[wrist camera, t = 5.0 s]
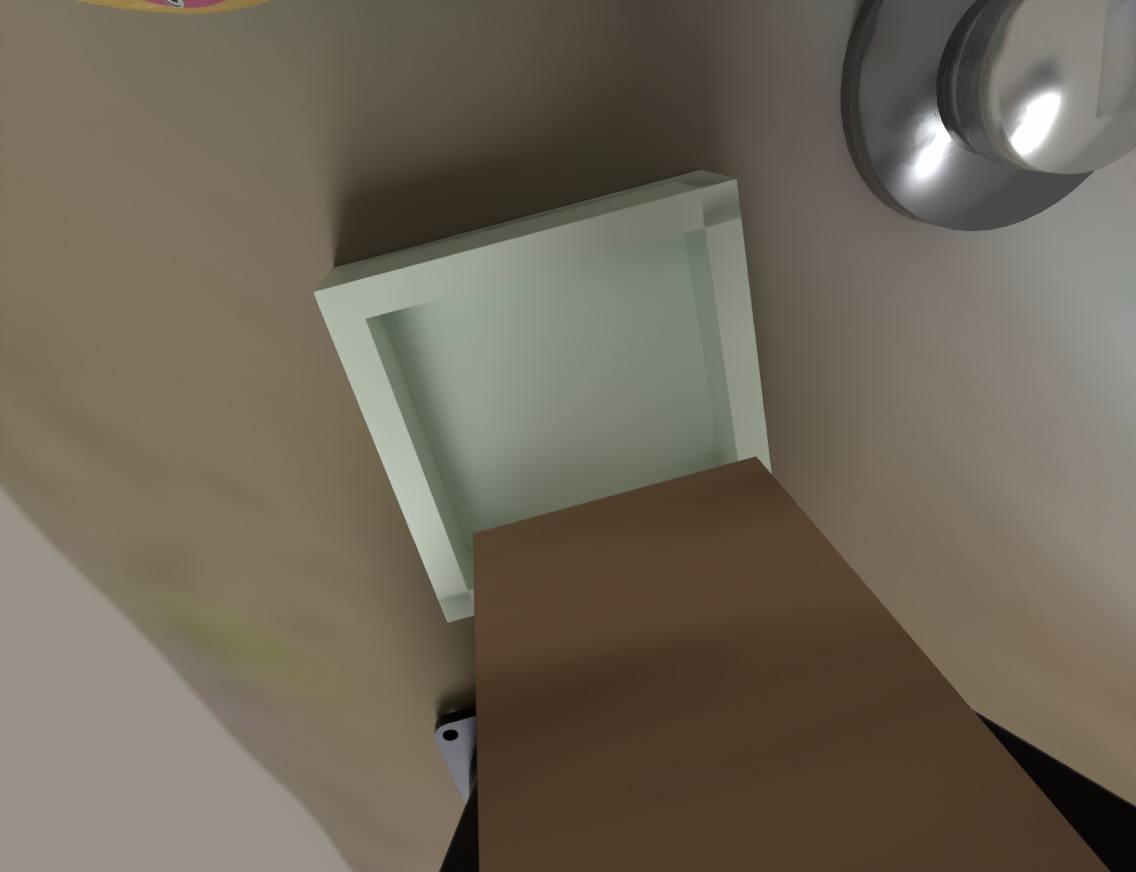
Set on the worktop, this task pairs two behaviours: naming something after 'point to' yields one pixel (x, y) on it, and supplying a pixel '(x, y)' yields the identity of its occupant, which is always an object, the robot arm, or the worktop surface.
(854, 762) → the stop block
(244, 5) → the cupcake
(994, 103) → the crank
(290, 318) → the worktop surface
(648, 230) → the tray
